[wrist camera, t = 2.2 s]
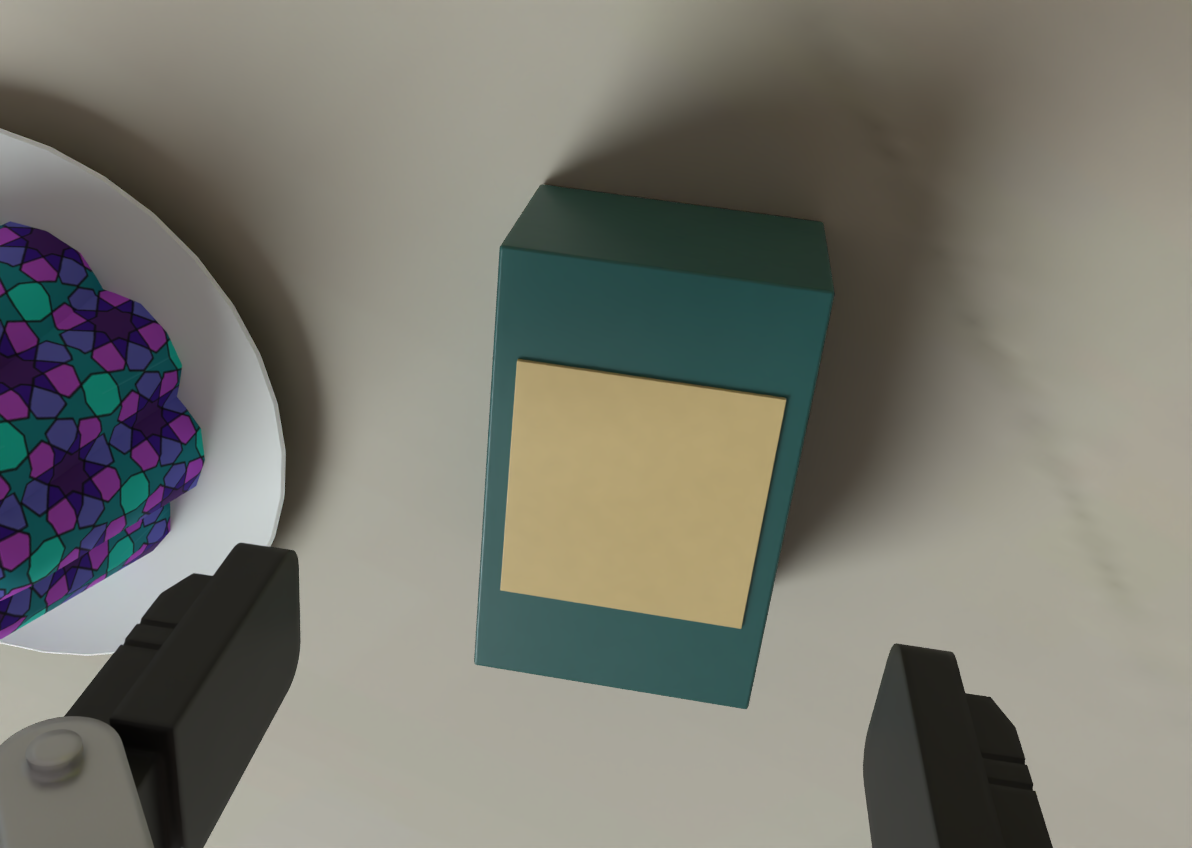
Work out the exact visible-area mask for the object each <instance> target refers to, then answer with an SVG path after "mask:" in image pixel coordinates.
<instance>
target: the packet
mask: <svg viewBox="0 0 1192 848" xmlns="http://www.w3.org/2000/svg"><path fill="white" fill-rule="evenodd" d="M834 295H835V293H834V287H833V280H832V274H831V268H830V261H829V255H828V249H827V243H826V236H825V230H824V224H823V223H822V222H818V221H811V220H803V219H796V218H788V217H781V216H773V215H766V214H759V213H751V212H744V211H736V210H729V209H721V208H714V207H706V206H699V205H692V204H684V203H677V202H669V201H662V200H654V199H647V198H639V197H632V196H624V195H617V194H610V193H602V192H595V191H587V190H580V189H572V188H565V187H557V186H550V185H543V184H542V185H540V186H539V188H538V189H537V191H536V192H535V194H534V195H533V197H532V199H531V200H530V202H529V203H528V205H527V206H526V208H525V209H524V211H523V212H522V214H521V215H520V217H519V218H518V220H517V222H516V223H515V225H514V226H513V228H512V229H511V231H510V232H509V234H508V235H507V237H506V238H505V240H504V241H503V243H502V245H501V246H500V252H499V269H498V285H497V301H496V317H495V333H494V350H493V366H492V382H491V398H490V415H489V431H488V447H487V463H486V479H485V496H484V512H483V528H482V544H481V560H480V577H479V593H478V609H477V625H476V642H475V658H474V662H475V664H476V665H481V666H488V667H494V668H500V669H506V670H512V671H518V672H524V673H530V674H536V675H542V676H548V677H554V678H560V679H566V680H572V681H578V682H584V683H591V684H597V685H603V686H609V687H615V688H621V689H627V690H633V691H639V692H645V693H651V694H657V695H663V696H669V697H675V698H681V699H687V700H694V701H700V702H706V703H712V704H718V705H724V706H730V707H736V708H742V709H747V708H748V706H749V701H750V696H751V691H752V687H753V682H754V677H755V672H756V667H757V663H758V658H759V653H760V648H761V644H762V639H763V634H764V629H765V624H766V620H767V615H768V610H769V605H770V601H771V596H772V591H773V586H774V581H775V577H776V572H777V567H778V562H779V558H780V553H781V548H782V543H783V539H784V534H785V529H786V524H787V519H788V515H789V510H790V505H791V500H792V496H793V491H794V486H795V481H796V476H797V472H798V467H799V462H800V457H801V453H802V448H803V443H804V438H805V433H806V429H807V424H808V419H809V414H810V410H811V405H812V400H813V395H814V390H815V386H816V381H817V376H818V371H819V367H820V362H821V357H822V352H823V348H824V343H825V338H826V333H827V328H828V324H829V319H830V314H831V309H832V305H833V300H834Z"/></svg>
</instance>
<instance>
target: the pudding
mask: <svg viewBox="0 0 1192 848" xmlns="http://www.w3.org/2000/svg"><path fill="white" fill-rule="evenodd" d="M285 462H286V450H285V444H284V438H283V432H282V426H281V420H280V414H279V408H278V403H277V400H276V397H275V394H274V392H273V389H272V386H271V383H270V380H269V377H268V374H267V372H266V369H265V366H264V363H263V360H262V357H261V355H260V353H259V351H258V349H257V347H256V345H255V343H254V341H253V340H252V338H251V336H250V334H249V332H248V330H247V329H246V327H245V325H244V323H243V321H242V319H241V317H240V316H239V314H238V312H237V310H236V308H235V306H234V305H233V303H232V302H231V301H230V299H229V298H228V297H227V295H226V294H225V293H224V291H223V290H222V289H221V287H220V286H219V285H218V283H217V282H216V281H215V279H214V278H213V277H212V275H211V274H210V273H209V271H208V270H207V269H206V267H205V266H204V265H203V263H202V262H201V261H200V259H199V258H198V257H197V256H196V255H195V254H194V253H193V252H192V251H191V250H190V249H189V248H188V247H187V246H186V245H185V244H184V243H183V242H182V241H181V240H180V239H179V238H178V237H177V236H176V235H175V234H174V233H173V232H172V231H171V230H170V229H169V228H168V227H167V226H166V225H165V224H164V223H163V222H162V221H161V220H160V219H159V218H158V217H157V216H156V215H155V214H154V213H153V212H151V211H150V210H149V209H147V208H146V207H145V206H143V205H142V204H141V203H139V202H138V201H137V200H135V199H134V198H133V197H131V196H130V195H129V194H127V193H126V192H125V191H123V190H122V189H121V188H119V187H118V186H117V185H115V184H114V183H113V182H111V181H110V180H109V179H107V178H106V177H105V176H103V175H101V174H99V173H98V172H96V171H94V170H92V169H90V168H88V167H87V166H85V165H83V164H81V163H79V162H77V161H76V160H74V159H72V158H70V157H68V156H66V155H65V154H63V153H61V152H59V151H57V150H56V149H54V148H52V147H50V146H47V145H45V144H42V143H39V142H36V141H34V140H31V139H28V138H26V137H23V136H20V135H17V134H15V133H12V132H9V131H6V130H4V129H1V128H0V643H1V644H6V645H11V646H15V647H20V648H25V649H30V650H34V651H39V652H44V653H56V654H70V655H85V656H92V655H104V654H114V652H115V651H116V650H117V649H118V647H119V646H120V645H124V642H125V638H126V637H127V636H128V634H129V633H130V632H131V631H132V629H133V628H134V627H135V626H136V624H140V622H141V618H142V617H143V615H144V614H145V613H146V611H147V610H148V609H149V608H150V606H151V605H152V604H153V603H154V601H155V600H156V599H157V597H158V596H159V595H160V594H161V593H162V592H163V591H165V590H167V589H168V588H170V587H172V586H173V585H175V584H176V583H178V582H180V581H181V580H183V579H184V578H186V577H188V576H189V575H191V574H193V573H197V574H204V575H210V576H213V575H214V574H215V572H216V571H217V569H218V568H219V567H220V565H221V564H222V563H223V561H224V560H225V558H226V557H227V556H228V554H229V553H230V552H231V550H232V549H233V548H234V546H235V545H237V544H238V543H240V542H241V543H248V544H255V545H261V546H268V547H270V546H271V544H272V542H273V540H274V538H275V535H276V531H277V526H278V522H279V518H280V514H281V510H282V505H283V501H284V497H285Z"/></svg>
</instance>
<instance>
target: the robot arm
mask: <svg viewBox="0 0 1192 848" xmlns="http://www.w3.org/2000/svg"><path fill="white" fill-rule="evenodd" d="M299 652H300V602H299V565H298V557H297V554H296V552H295V551H294V550H288V549H281V548H274V547H268V546H261V545H255V544H248V543H241V542H240V543H238V544H237V545H235V546H234V548H233V549H232V550H231V552H230V553H229V554H228V556H227V557H226V558H225V560H224V561H223V563H222V564H221V565H220V567H219V568H218V569H217V571H216V572H215V574H214V575H213V576H210V575H204V574H197V573H193V574H191V575H189V576H188V577H186V578H184V579H183V580H181V581H180V582H178V583H176V584H175V585H173V586H172V587H170V588H168V589H167V590H165V591H163V592H162V593H161V594H160V595H159V596H158V597H157V599H156V600H155V601H154V603H153V604H152V605H151V606H150V608H149V609H148V610H147V611H146V613H145V614H144V615H143V617H142V618H141V622H140V624H136V626H135V627H134V628H133V629H132V631H131V632H130V633H129V634H128V636H127V637H126V638H125V642H124V645H120V646H119V647H118V649H117V650H116V651H115V652H114V654H113V655H112V656H111V657H110V659H109V660H108V661H107V663H106V664H105V665H104V666H103V668H102V669H101V670H100V672H99V673H98V674H97V675H96V677H95V678H94V679H93V680H92V682H91V683H90V684H89V686H88V687H87V688H86V689H85V691H84V692H83V693H82V695H81V696H80V697H79V698H78V700H77V701H76V702H75V704H74V705H73V706H72V707H71V709H70V710H69V711H68V712H67V714H66V715H65V716H64V717H58V718H53V719H48V720H45V721H41V722H38V723H35V724H33V725H31V726H28V727H26V728H24V729H22V730H20V731H19V732H17V733H15V734H14V735H12V736H11V737H10V738H8V739H7V740H6V741H5V742H3V743H2V744H1V745H0V848H203V847H204V845H205V843H206V842H207V840H208V838H209V836H210V834H211V832H212V831H213V829H214V827H215V825H216V823H217V821H218V819H219V818H220V816H221V814H222V812H223V810H224V808H225V806H226V805H227V803H228V801H229V799H230V797H231V795H232V794H233V792H234V790H235V788H236V786H237V784H238V782H239V781H240V779H241V777H242V775H243V773H244V771H245V769H246V768H247V766H248V764H249V762H250V760H251V758H252V757H253V755H254V753H255V751H256V749H257V747H258V745H259V744H260V742H261V740H262V738H263V736H264V734H265V732H266V731H267V729H268V727H269V725H270V723H271V721H272V720H273V718H274V716H275V714H276V712H277V710H278V708H279V707H280V705H281V703H282V701H283V699H284V697H285V695H286V694H287V692H288V690H289V688H290V686H291V683H292V681H293V678H294V675H295V672H296V668H297V664H298V659H299ZM863 778H864V787H865V795H866V802H867V810H868V818H869V826H870V833H871V841H872V848H1053V847H1052V844H1051V840H1050V837H1049V834H1048V831H1047V828H1046V824H1045V821H1044V818H1043V815H1042V811H1041V808H1040V805H1039V802H1038V799H1037V795H1036V792H1035V791H1033V782H1032V779H1031V776H1030V773H1029V770H1028V766H1027V765H1025V757H1024V753H1023V750H1022V747H1021V744H1020V741H1019V737H1018V734H1017V731H1016V728H1015V726H1014V725H1013V724H1012V723H1011V721H1010V720H1009V719H1008V718H1007V717H1006V715H1005V714H1004V713H1003V712H1002V711H1001V709H1000V708H999V707H998V706H997V704H996V703H995V702H994V701H993V700H992V698H991V697H986V696H979V695H973V694H966V693H965V691H964V687H963V683H962V679H961V676H960V672H959V668H958V664H957V661H956V658H955V655H954V654H953V653H952V652H949V651H942V650H936V649H929V648H922V647H916V646H909V645H903V644H894V645H893V647H892V648H891V650H890V653H889V656H888V659H887V663H886V667H885V670H884V674H883V677H882V681H881V685H880V688H879V692H878V695H877V699H876V703H875V706H874V710H873V713H872V717H871V721H870V724H869V728H868V732H867V736H866V742H865V749H864V761H863Z"/></svg>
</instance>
